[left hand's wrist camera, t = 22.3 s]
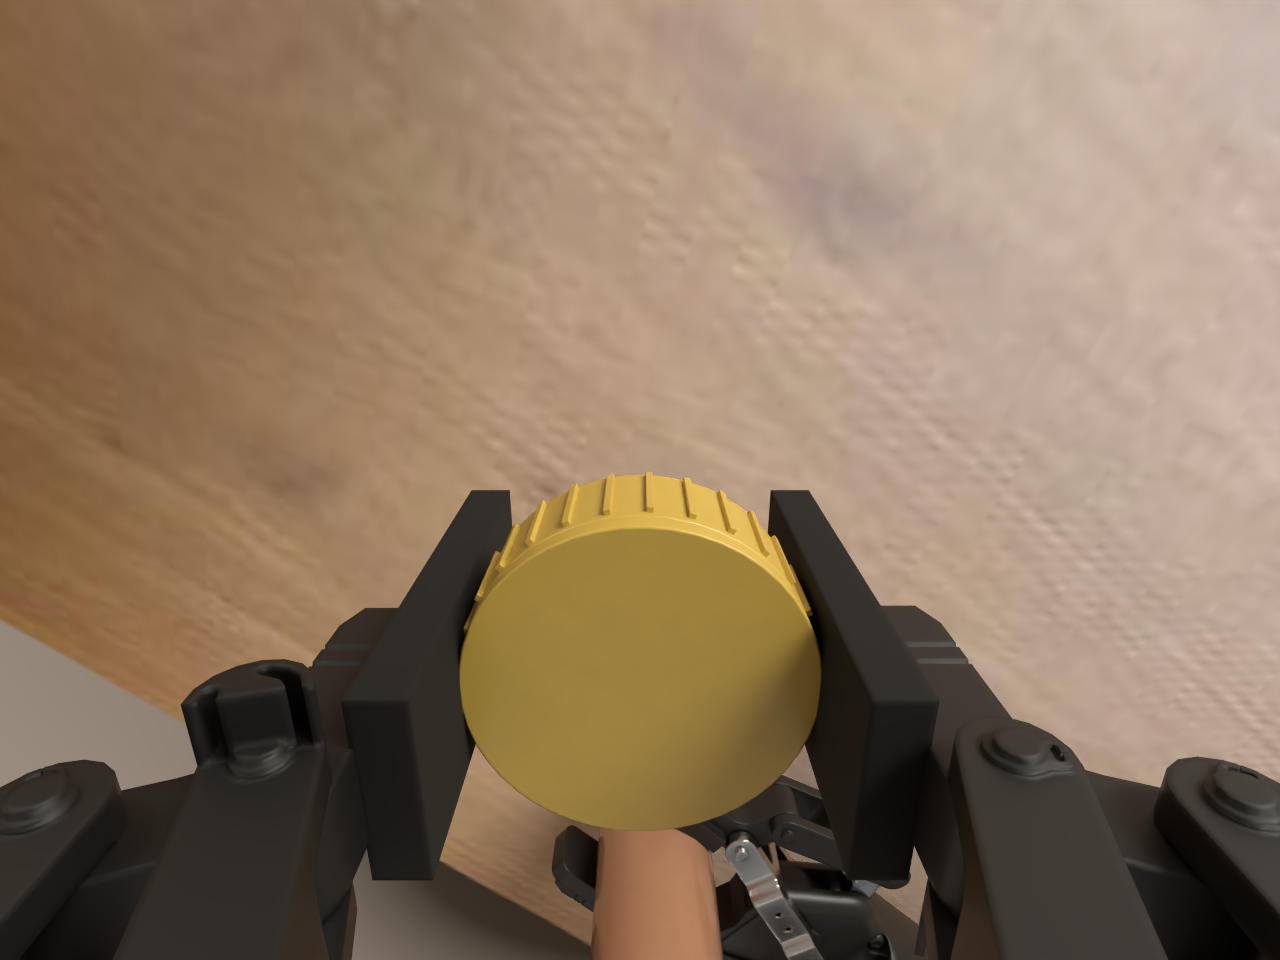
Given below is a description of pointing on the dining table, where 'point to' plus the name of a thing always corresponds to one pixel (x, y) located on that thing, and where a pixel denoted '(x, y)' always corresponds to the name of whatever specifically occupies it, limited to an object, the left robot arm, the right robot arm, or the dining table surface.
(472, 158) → the dining table surface
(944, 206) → the dining table surface
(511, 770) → the lid
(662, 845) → the jar
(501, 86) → the dining table surface
